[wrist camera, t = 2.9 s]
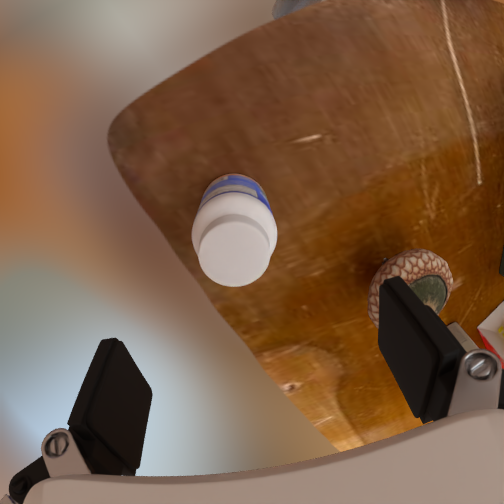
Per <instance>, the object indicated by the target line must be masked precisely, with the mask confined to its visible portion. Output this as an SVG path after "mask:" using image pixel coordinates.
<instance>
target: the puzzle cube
mask: <svg viewBox="0 0 504 504" xmlns="http://www.w3.org/2000/svg"><path fill="white" fill-rule="evenodd" d="M477 329H478V331H479V334H480V336H481V338H482V340H483V342H484V345H485V347H486V349H487V350H489V351H491V352H493V353H495V354H496V355H497V357H498V358H499V359H500V361H501V365H502V368H503V369H504V301H503V302H502V303H501V304H500V305H499V306H498V307H497V308H496V309H495V310H494V311H493V312H492V313H491V314H490V315H489V316H488V317H487V318H486V319H485V320H484V321H483V322H482V323H481V324H480V325H479V326H478V327H477Z"/></svg>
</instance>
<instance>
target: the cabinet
mask: <svg viewBox="0 0 504 504" xmlns="http://www.w3.org/2000/svg"><path fill="white" fill-rule="evenodd" d="M499 273H500V274H501V275H502V276H503V277H504V247H503V254H502V260H501V265H500V271H499Z"/></svg>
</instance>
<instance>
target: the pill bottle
mask: <svg viewBox="0 0 504 504" xmlns="http://www.w3.org/2000/svg"><path fill="white" fill-rule="evenodd" d="M192 242H193V246H194V249H195V251H196V253H197V255H198V258H199V263H200V266H201V268H202V270H203V271H204V273H205V274H206V275H207V276H208V277H209V278H210V279H212V280H213V281H214V282H216V283H219V284H221V285H224V286H230V287H239V286H244V285H247V284H250V283H252V282H254V281H255V280H257V279H258V278H259V277H260V276H261V275H262V274H263V273H264V272H265V270H266V269H267V266H268V264H269V261H270V256H271V255H272V253H273V251H274V249H275V246H276V242H277V227H276V223H275V220H274V217H273V214H272V212H271V209H270V206H269V203H268V200H267V197H266V195H265V193H264V191H263V189H262V188H261V186H260V185H259V184H258V183H257V182H256V181H255V180H253V179H251V178H250V177H247V176H245V175H241V174H227V175H223V176H221V177H219V178H217V179H215V180H214V181H213V182H212V183H211V184H210V185H209V186H208V187H207V189H206V190H205V192H204V195H203V197H202V200H201V203H200V206H199V209H198V212H197V215H196V217H195V220H194V223H193V228H192Z"/></svg>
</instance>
